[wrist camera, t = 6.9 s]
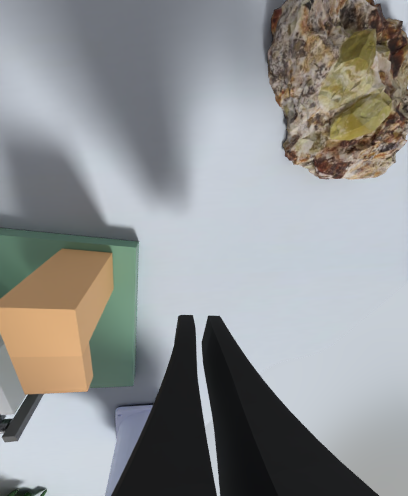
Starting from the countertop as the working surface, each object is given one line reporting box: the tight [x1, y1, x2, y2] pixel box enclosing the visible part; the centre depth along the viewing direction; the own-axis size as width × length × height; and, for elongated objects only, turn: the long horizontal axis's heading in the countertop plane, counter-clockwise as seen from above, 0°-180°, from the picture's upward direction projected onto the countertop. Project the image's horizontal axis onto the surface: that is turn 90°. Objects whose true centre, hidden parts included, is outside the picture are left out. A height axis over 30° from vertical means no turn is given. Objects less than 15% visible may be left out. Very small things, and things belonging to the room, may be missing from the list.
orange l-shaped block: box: [0, 249, 114, 394], centre depth 11 cm, size 6×3×5 cm, turn 170°
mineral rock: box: [268, 0, 408, 179], centre depth 10 cm, size 11×4×8 cm
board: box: [0, 228, 139, 442], centre depth 13 cm, size 16×15×5 cm
